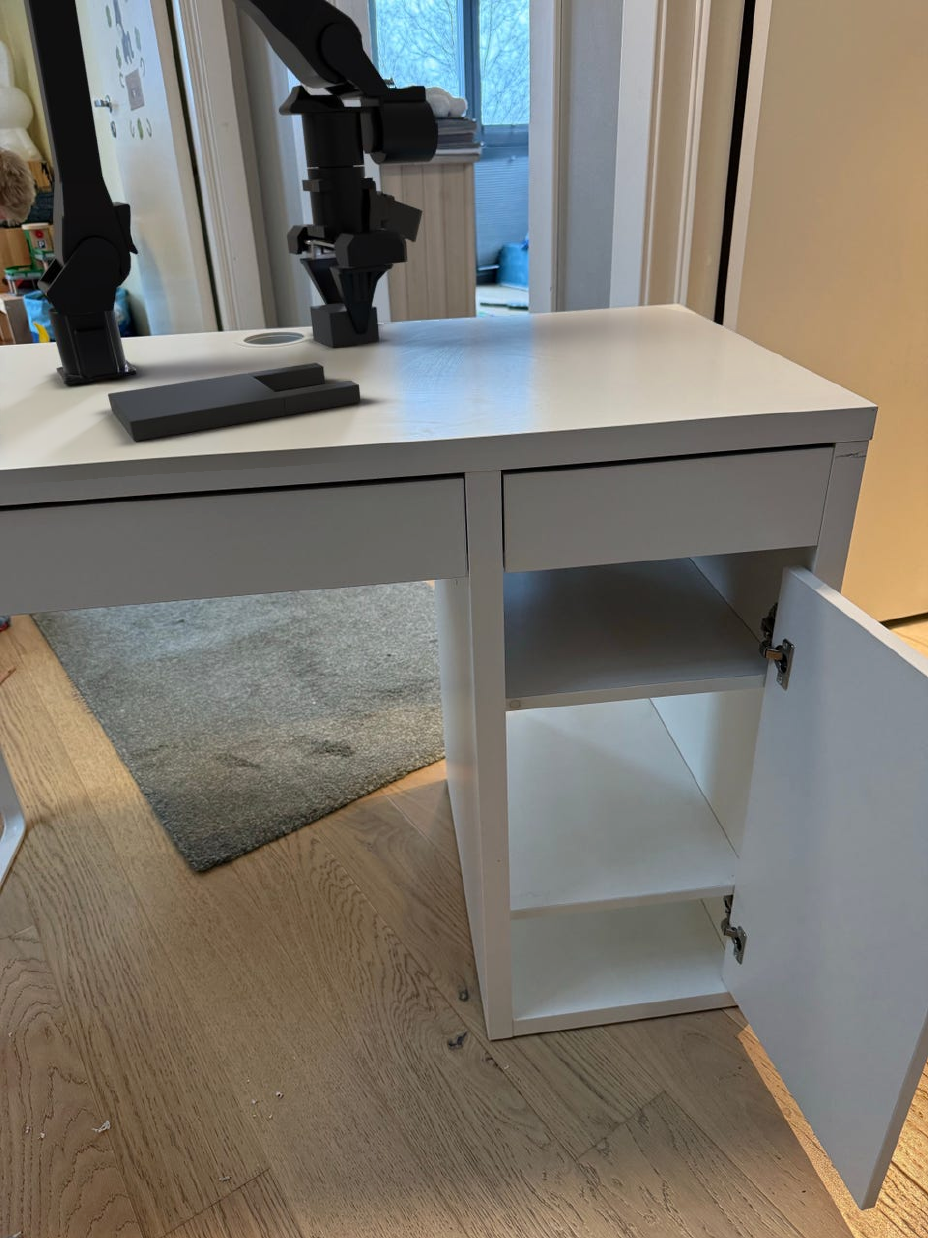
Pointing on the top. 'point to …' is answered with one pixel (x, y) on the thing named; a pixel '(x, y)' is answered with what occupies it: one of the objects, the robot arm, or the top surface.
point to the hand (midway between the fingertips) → (351, 329)
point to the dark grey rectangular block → (340, 326)
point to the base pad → (228, 401)
